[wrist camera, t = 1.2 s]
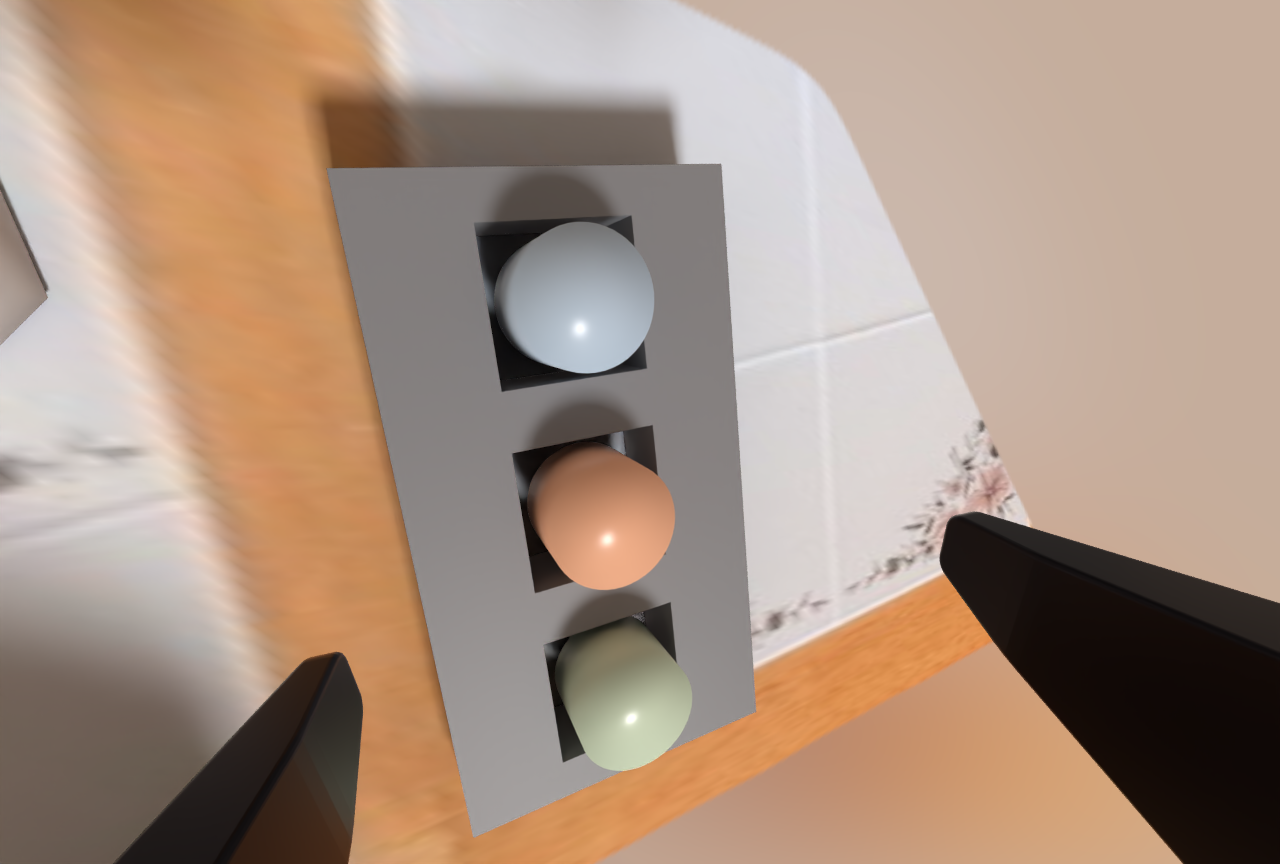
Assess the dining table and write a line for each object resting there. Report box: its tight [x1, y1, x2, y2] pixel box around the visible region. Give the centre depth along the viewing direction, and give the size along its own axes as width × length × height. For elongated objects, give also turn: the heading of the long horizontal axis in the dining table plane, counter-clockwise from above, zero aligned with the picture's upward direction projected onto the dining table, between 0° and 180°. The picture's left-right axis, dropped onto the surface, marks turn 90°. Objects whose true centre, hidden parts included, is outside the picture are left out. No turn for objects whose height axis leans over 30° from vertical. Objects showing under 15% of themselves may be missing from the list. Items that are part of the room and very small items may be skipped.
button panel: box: [326, 164, 756, 837], centre depth 21 cm, size 22×12×3 cm, turn 7°
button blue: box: [494, 222, 654, 373], centre depth 17 cm, size 4×4×3 cm
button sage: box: [555, 616, 692, 771], centre depth 21 cm, size 4×4×3 cm
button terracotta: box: [527, 442, 675, 590], centre depth 19 cm, size 4×4×3 cm
